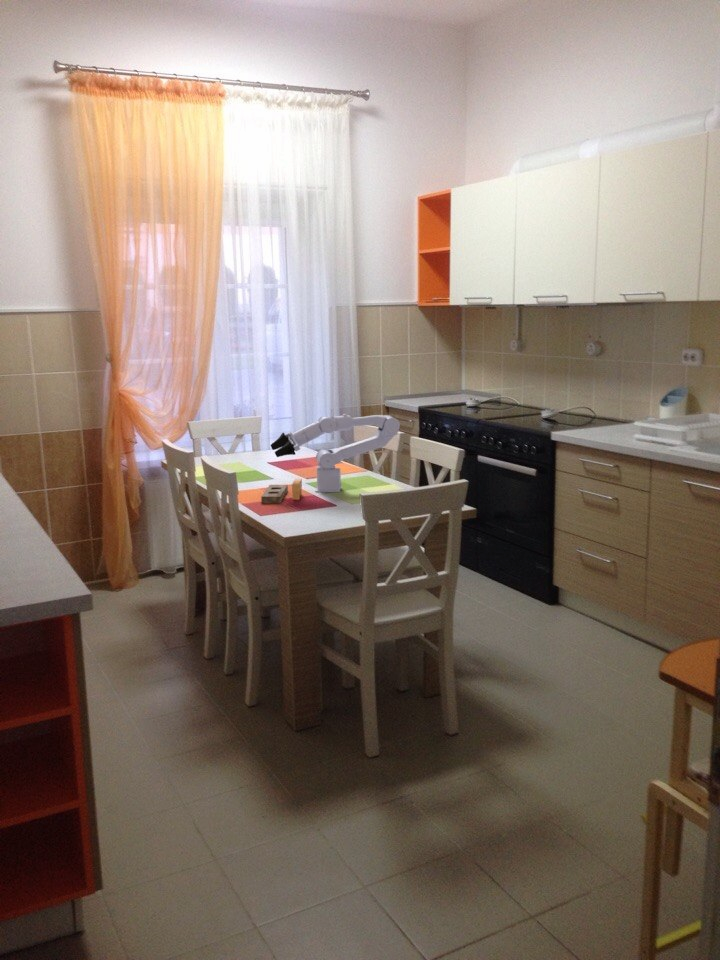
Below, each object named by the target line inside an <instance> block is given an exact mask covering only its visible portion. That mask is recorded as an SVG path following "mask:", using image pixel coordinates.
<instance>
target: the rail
mask: <svg viewBox="0 0 720 960" xmlns="http://www.w3.org/2000/svg"><path fill="white" fill-rule="evenodd" d="M288 488H289V487H288V484H269V485H268V486H267V488H266V489H265V491H264V492H263V493H262V495H261V498H260V499H261V504H281V503H282V502H283V500H284V498H285V496H287V493H288V490H289V489H288Z"/></svg>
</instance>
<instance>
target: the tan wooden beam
mask: <svg viewBox="0 0 720 960" xmlns="http://www.w3.org/2000/svg"><path fill="white" fill-rule="evenodd" d="M302 482H303V481H302V478H295V479H294V480H293V482H292V483H291V492H292V500H297V501H298V500H300V499H301V498H300V496H302V495H303V492H302V491H303V490H302V485H303V483H302Z"/></svg>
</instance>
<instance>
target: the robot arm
mask: <svg viewBox="0 0 720 960" xmlns="http://www.w3.org/2000/svg"><path fill="white" fill-rule="evenodd" d="M364 426H375V427H377V431H376V434H375V435H373V436H371V437H368V438H366V439H362V440H360V441H356V442H352V443H350V444H346V445H343V446H340V447H337V448H335V447H333V448H330V449H327V448H326V449H325V448H323V449H322V448H321V449H320V450H318V451H317V453H316V454H315V459H316V462H317V463H318V465H317V466H316V488H315V493H340V492H341V489H342V479H341V478H342V476H341V473H342V472H341V471H342V470H341V468H340V467H336V465H338V464H340V463H341V462H342V461H345V460H347V459H350V458H353V457H356V456H359V455H362V454H365V453H369V452H371V451H374V450H378V449H380V448H383V447H386V446H387V445H388V444H389V442H390V441H391V440H392V439H393V438H394V437H396V436H397V435H398V433H399V430H400V426H401V423H400V422H399V420H398V419H397V418H395V417H393V416H392V415H390V414H373V415H366V416H360V417H359V416H358V417H352V416H351V415H347V413H343V414H342V415H337V416H334V415H330V417H328V416H321V417H319V418H318V420H317V421H315V422H313V423H310V424H309V425H308V424H307V426H305V427H303V428H301V429H298V430H297V431H295V432H293V433H292V431H289V432H287V433H285V432H282V433H281V435H280V436H279V437H278V438H277V439H276V440H275V441H274V442H272V443H271V444H270V448H271V449H272V451H274V454H275V456H276V458H279V457H283V456H289V455H290V456H294V455H296V452H298V451H300V450H301V446H303V445H305V444H308V443H309V442H311V441H313V440H316V439H317V438H319V437H320V436H322V435H325V434H331V433H333V432H342V431H350V430H352V428H354V427H364Z"/></svg>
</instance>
